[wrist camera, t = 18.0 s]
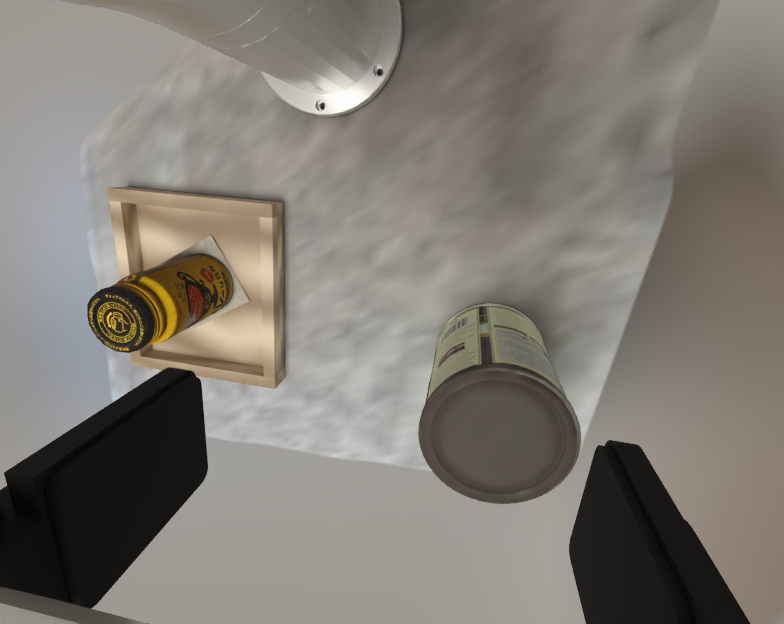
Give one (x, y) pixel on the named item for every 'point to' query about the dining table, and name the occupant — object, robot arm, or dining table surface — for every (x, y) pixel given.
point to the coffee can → (497, 409)
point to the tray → (245, 257)
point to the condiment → (166, 299)
